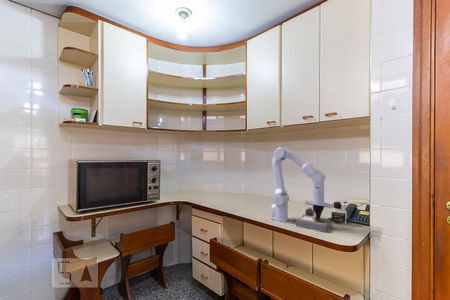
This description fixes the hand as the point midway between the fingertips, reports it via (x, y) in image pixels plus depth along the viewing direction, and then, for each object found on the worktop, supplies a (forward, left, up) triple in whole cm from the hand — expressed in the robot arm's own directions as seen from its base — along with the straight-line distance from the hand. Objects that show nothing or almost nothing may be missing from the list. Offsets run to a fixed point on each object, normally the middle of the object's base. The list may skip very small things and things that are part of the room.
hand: (318, 219), depth 122 cm
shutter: (-5, 0, -1) cm, 5 cm away
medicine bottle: (+7, +16, -5) cm, 18 cm away
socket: (-3, 0, -4) cm, 5 cm away
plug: (-8, +10, -4) cm, 13 cm away
